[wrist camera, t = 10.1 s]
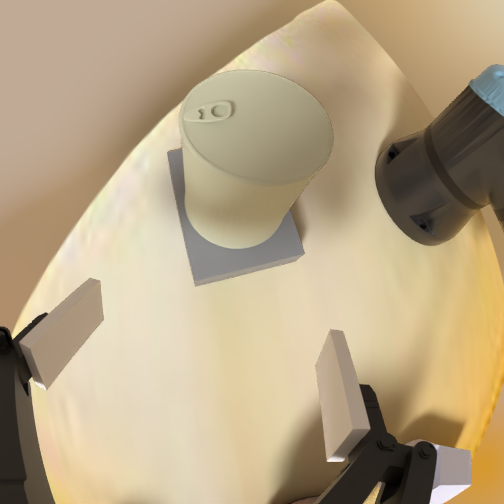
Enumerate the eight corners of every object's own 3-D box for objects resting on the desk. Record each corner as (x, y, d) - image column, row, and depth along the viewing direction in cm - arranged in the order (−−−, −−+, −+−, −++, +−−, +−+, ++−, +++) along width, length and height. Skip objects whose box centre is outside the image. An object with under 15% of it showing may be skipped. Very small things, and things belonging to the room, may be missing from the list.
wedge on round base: (454, 446, 26) (401, 434, 26) (486, 454, 19) (438, 447, 19) (426, 498, 23) (366, 495, 23) (454, 512, 17) (395, 517, 16)
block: (257, 149, 32) (262, 134, 29) (294, 261, 29) (304, 253, 26) (169, 165, 29) (166, 149, 26) (195, 286, 27) (194, 281, 24)
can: (184, 159, 26) (181, 62, 15) (277, 158, 28) (317, 70, 17) (186, 252, 24) (175, 184, 13) (291, 246, 26) (355, 183, 15)
